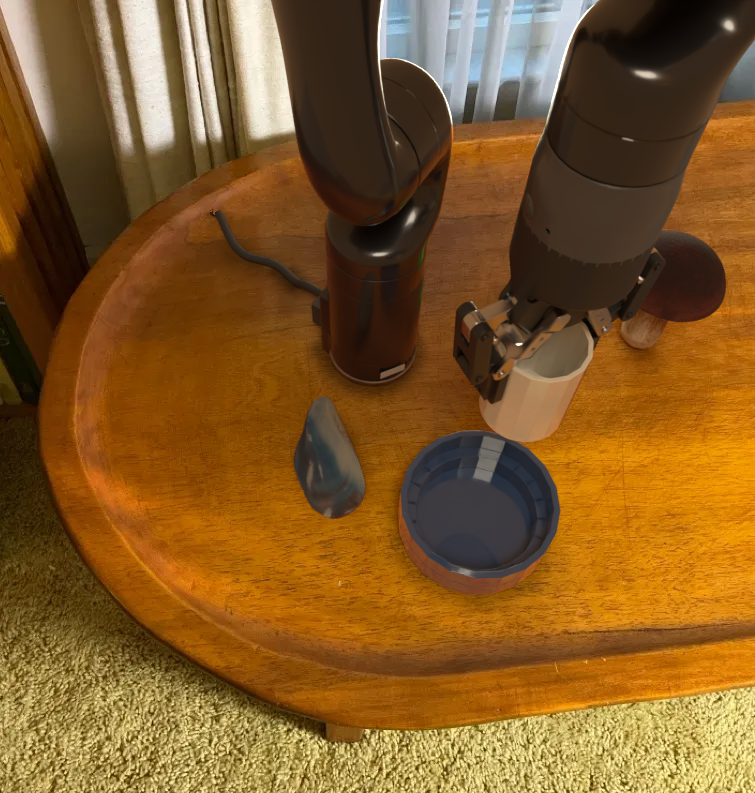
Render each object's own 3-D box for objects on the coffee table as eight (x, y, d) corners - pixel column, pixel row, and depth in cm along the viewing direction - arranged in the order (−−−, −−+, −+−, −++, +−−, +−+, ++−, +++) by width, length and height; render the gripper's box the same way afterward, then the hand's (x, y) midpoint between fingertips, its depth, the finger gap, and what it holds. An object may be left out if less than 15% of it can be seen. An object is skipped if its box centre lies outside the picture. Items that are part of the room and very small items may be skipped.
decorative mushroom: (678, 392, 81) (739, 306, 68) (576, 364, 82) (618, 274, 70) (690, 315, 86) (749, 221, 73) (594, 289, 88) (636, 193, 75)
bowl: (369, 541, 72) (370, 519, 67) (447, 431, 78) (453, 404, 73) (500, 627, 68) (511, 610, 63) (571, 505, 74) (586, 481, 69)
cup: (463, 414, 58) (478, 351, 50) (504, 355, 60) (524, 287, 53) (539, 457, 56) (567, 398, 49) (578, 395, 59) (609, 330, 51)
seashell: (341, 531, 69) (386, 431, 68) (261, 486, 72) (303, 390, 71) (366, 525, 75) (408, 433, 74) (292, 484, 78) (331, 395, 77)
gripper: (515, 302, 37) (471, 455, 51) (745, 209, 40) (644, 377, 55) (440, 200, 40) (418, 371, 54) (658, 123, 44) (584, 302, 58)
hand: (531, 373), depth 55 cm, fingers closed on cup, 6 cm apart
